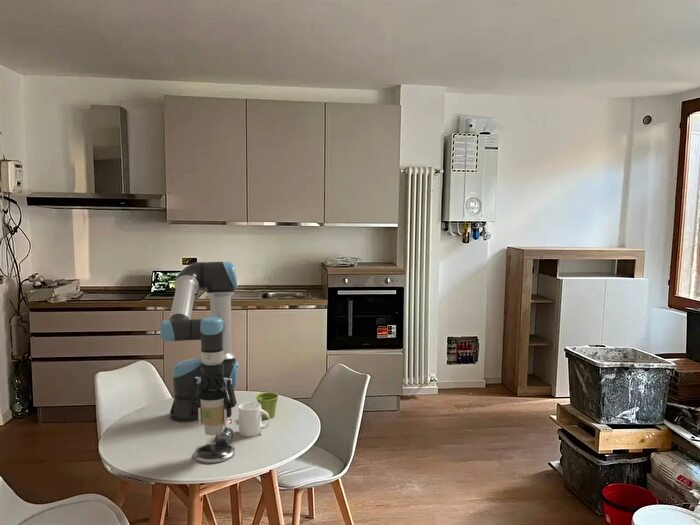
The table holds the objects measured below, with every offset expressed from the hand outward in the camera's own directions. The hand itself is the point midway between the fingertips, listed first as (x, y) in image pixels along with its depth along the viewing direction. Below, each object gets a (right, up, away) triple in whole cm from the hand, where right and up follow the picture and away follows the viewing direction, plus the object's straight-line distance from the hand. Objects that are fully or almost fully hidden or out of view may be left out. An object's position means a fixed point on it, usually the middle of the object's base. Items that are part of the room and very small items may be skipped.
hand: (214, 425), depth 187 cm
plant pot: (+13, -8, +36) cm, 40 cm away
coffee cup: (0, -3, 0) cm, 3 cm away
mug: (+11, -9, +20) cm, 24 cm away
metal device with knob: (0, -11, +4) cm, 12 cm away
